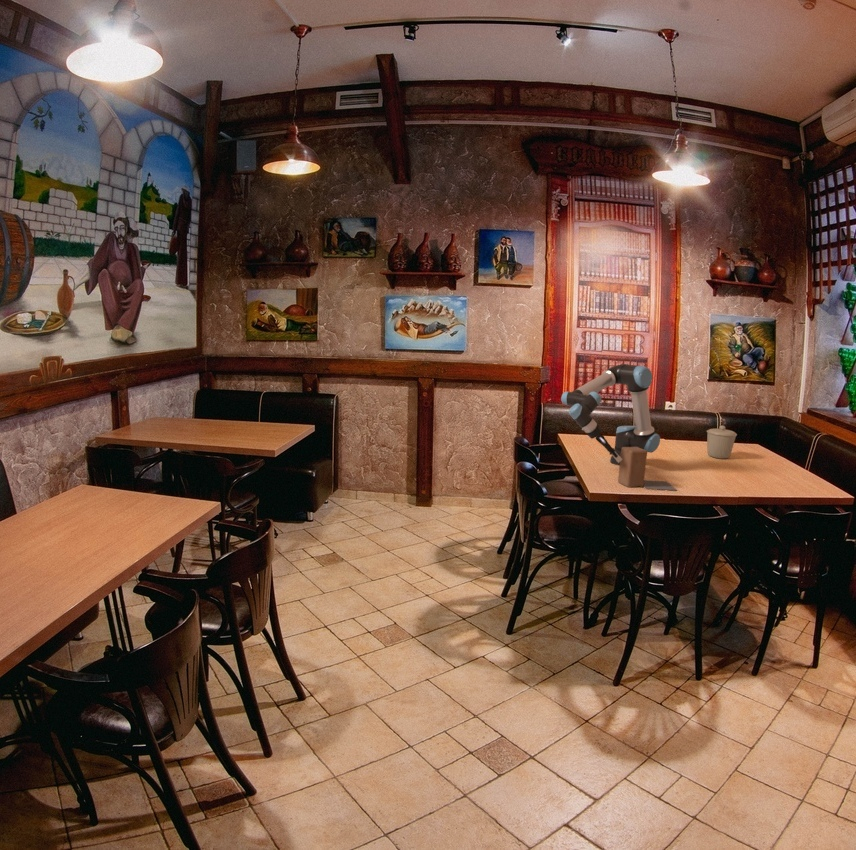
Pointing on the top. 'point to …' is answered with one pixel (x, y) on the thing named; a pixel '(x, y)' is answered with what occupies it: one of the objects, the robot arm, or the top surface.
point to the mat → (658, 485)
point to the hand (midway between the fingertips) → (620, 460)
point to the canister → (720, 442)
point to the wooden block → (632, 466)
